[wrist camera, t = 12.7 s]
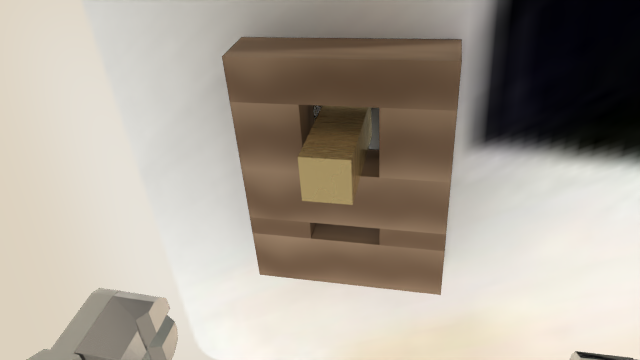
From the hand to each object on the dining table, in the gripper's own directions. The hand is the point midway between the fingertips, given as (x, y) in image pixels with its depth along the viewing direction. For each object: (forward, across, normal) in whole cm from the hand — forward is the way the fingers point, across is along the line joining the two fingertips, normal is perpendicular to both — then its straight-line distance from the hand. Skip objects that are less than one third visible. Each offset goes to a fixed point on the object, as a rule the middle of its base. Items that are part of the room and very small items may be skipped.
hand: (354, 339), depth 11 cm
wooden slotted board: (+24, +4, +12) cm, 28 cm away
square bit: (+25, +4, +9) cm, 27 cm away
